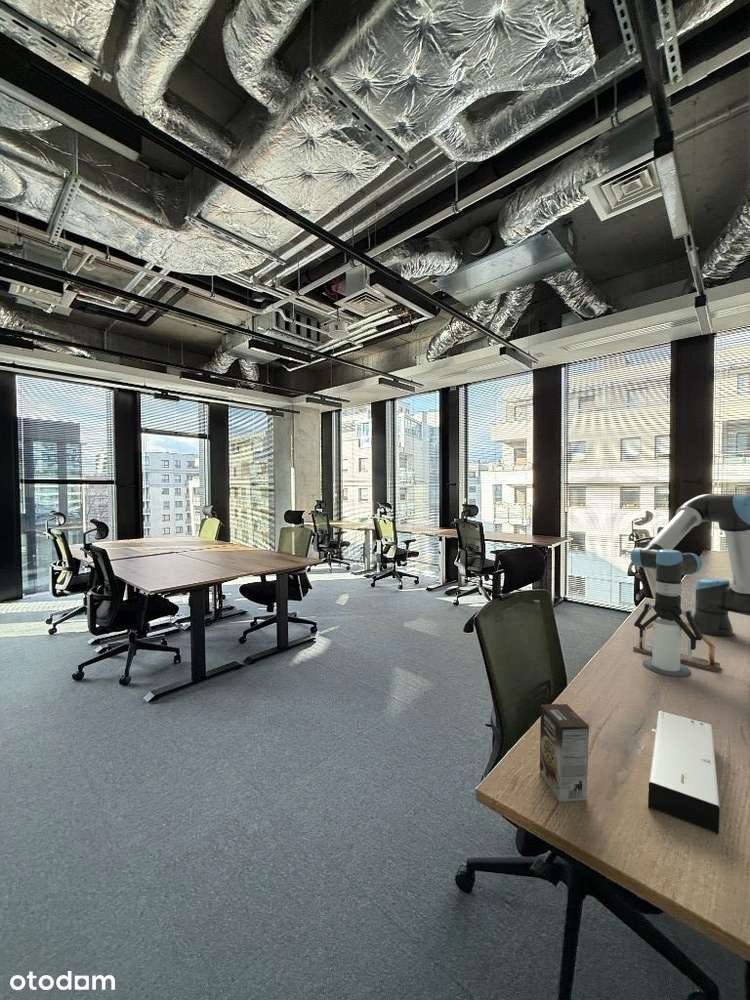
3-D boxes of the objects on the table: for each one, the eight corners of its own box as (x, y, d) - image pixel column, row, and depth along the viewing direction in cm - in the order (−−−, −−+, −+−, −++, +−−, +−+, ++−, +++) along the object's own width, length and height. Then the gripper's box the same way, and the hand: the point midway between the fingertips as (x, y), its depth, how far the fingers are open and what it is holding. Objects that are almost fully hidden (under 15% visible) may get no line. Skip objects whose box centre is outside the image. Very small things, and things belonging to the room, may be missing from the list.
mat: (649, 656, 162) (649, 655, 162) (694, 668, 152) (694, 666, 152) (637, 667, 153) (637, 665, 153) (684, 680, 142) (684, 678, 142)
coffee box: (538, 773, 97) (539, 703, 96) (565, 771, 98) (566, 702, 97) (558, 803, 88) (560, 726, 87) (588, 801, 88) (590, 725, 88)
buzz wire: (638, 646, 172) (639, 611, 171) (719, 667, 153) (721, 627, 152) (633, 650, 168) (634, 614, 167) (716, 672, 149) (718, 631, 148)
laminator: (718, 838, 80) (719, 806, 79) (641, 808, 87) (642, 779, 87) (711, 748, 107) (712, 724, 107) (652, 731, 114) (653, 708, 114)
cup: (671, 661, 156) (672, 618, 155) (685, 671, 148) (686, 626, 147) (647, 660, 157) (648, 618, 156) (660, 670, 149) (661, 625, 148)
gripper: (625, 588, 158) (624, 645, 159) (709, 602, 140) (707, 666, 140) (632, 585, 163) (630, 640, 164) (714, 598, 145) (712, 660, 146)
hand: (666, 652), depth 152 cm, fingers open, 13 cm apart
